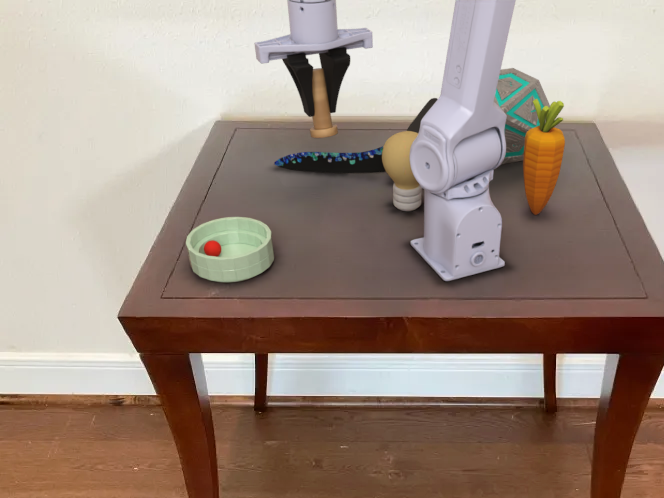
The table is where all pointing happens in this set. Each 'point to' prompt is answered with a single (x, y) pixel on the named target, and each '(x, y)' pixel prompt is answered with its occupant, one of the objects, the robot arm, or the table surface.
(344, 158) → the knife
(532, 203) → the carrot
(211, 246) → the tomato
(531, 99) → the sculpture
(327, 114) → the pestle
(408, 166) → the light bulb
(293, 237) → the table surface
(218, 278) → the bowl
